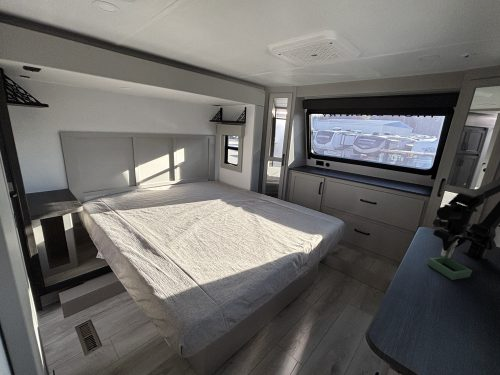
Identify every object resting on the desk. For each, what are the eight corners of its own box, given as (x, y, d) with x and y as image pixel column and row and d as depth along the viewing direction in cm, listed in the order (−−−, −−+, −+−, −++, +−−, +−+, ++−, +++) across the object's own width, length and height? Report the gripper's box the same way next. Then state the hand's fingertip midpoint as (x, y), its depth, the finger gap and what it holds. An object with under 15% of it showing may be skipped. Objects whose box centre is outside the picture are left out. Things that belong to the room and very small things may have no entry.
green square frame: (443, 261, 99) (445, 256, 99) (469, 276, 90) (472, 270, 89) (427, 264, 97) (429, 258, 96) (452, 279, 88) (454, 273, 87)
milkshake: (455, 259, 102) (463, 240, 99) (444, 258, 102) (452, 239, 99) (447, 254, 106) (455, 235, 103) (436, 253, 106) (443, 234, 103)
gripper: (455, 211, 108) (444, 239, 113) (426, 213, 103) (416, 242, 108) (483, 221, 98) (470, 251, 102) (453, 224, 93) (440, 255, 97)
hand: (448, 249), depth 103 cm, fingers closed on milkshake, 4 cm apart
